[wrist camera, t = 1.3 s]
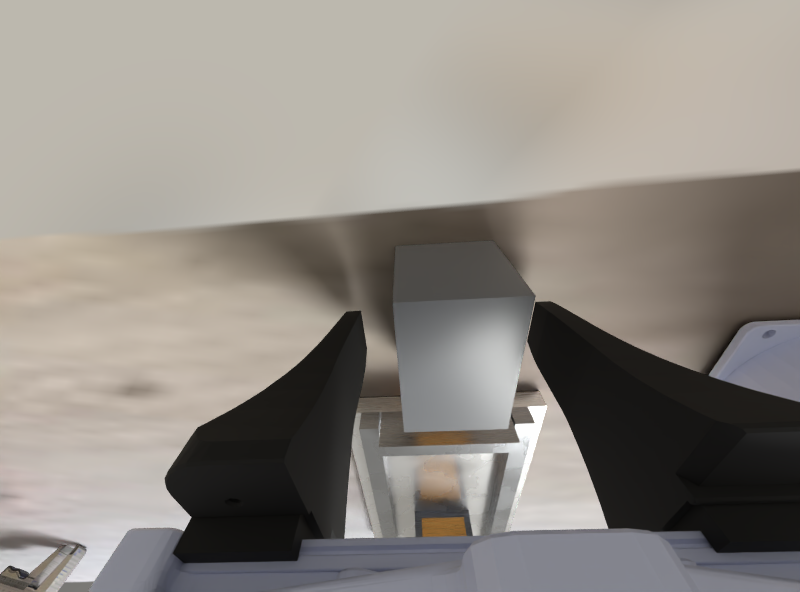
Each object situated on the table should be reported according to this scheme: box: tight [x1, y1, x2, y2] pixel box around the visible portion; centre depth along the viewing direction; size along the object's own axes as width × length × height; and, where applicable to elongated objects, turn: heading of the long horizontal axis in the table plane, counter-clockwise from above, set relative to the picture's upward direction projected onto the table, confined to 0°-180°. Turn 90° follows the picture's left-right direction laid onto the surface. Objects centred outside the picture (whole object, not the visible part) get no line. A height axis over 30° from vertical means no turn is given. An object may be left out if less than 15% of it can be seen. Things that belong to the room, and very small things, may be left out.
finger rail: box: [352, 391, 547, 538], centre depth 19 cm, size 11×18×6 cm, turn 4°
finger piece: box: [393, 240, 535, 432], centre depth 12 cm, size 4×6×4 cm, turn 4°
